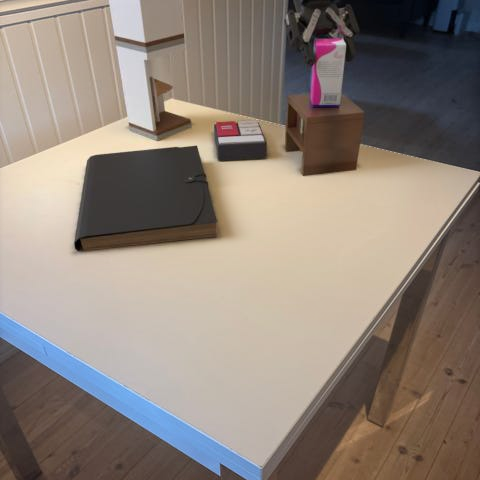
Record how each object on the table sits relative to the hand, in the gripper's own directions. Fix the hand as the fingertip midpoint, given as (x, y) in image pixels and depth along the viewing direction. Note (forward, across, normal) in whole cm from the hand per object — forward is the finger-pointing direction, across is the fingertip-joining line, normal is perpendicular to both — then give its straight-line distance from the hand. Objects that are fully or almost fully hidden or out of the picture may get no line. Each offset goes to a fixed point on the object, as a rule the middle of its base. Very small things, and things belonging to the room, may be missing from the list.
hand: (332, 61), depth 95 cm
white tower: (-10, -28, +38) cm, 48 cm away
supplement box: (+5, 0, +7) cm, 8 cm away
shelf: (+13, 0, +15) cm, 20 cm away
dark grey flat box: (+4, -14, +25) cm, 29 cm away
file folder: (+16, -40, +12) cm, 45 cm away
